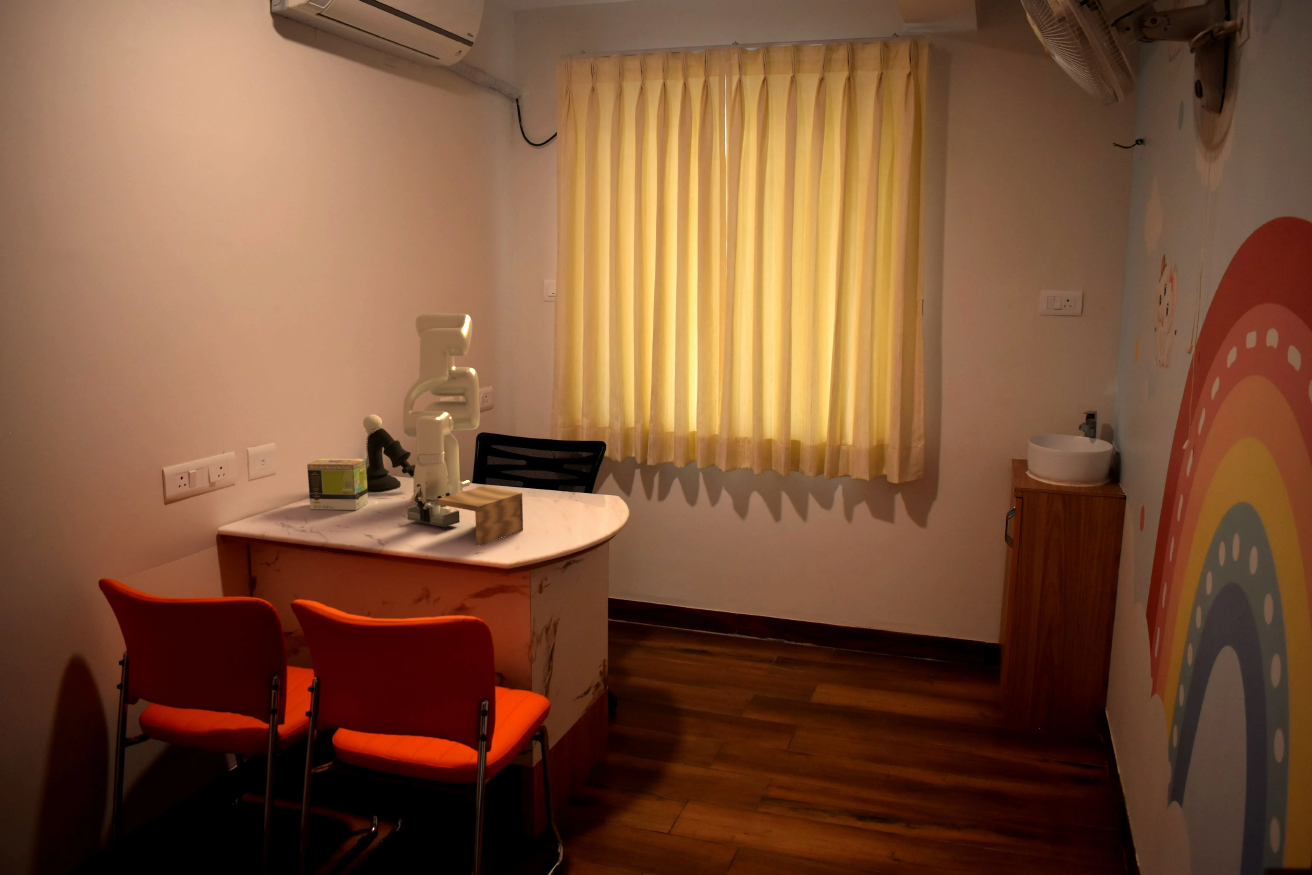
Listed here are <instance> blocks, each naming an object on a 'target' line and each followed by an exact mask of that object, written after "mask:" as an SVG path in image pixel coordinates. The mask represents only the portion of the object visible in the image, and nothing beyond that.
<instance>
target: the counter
mask: <svg viewBox="0 0 1312 875" xmlns="http://www.w3.org/2000/svg"><path fill="white" fill-rule="evenodd" d="M463 491H464V492H461V493H457V494H454V495H450V496H447V497H443V498H440V499H438V501H437V502H438V504H440V505H445V506H446V507H450V508H451V507H452V508H456V509H462V510H466V511H471V512H474V515H475V540H476V544H475V545H476V546H478V545H481V546H484V545H486V543H487V544H489V543H491V541H492V542H494V541H493V540H495V541H497V540H499V538H500V539H502V538H501V537H503V538H505V537H504V536H506V537H508V536H511V535H513V534H512V533H514V534H516V533H515V532H517V533H519V532H521V531H520V530H522V531H523V530H524V514H523V513H524V512H523V507H524V506H523V492H518V491H513V490H508V489H507V490H506V489H502V488H496V487H490V486H485V485H483V486H478V487H475V488H472V489H468V490H463ZM518 531H519V532H518ZM510 534H511V535H510ZM507 535H508V536H507ZM496 539H497V540H496ZM488 542H489V543H488ZM483 544H484V545H483Z"/></svg>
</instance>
